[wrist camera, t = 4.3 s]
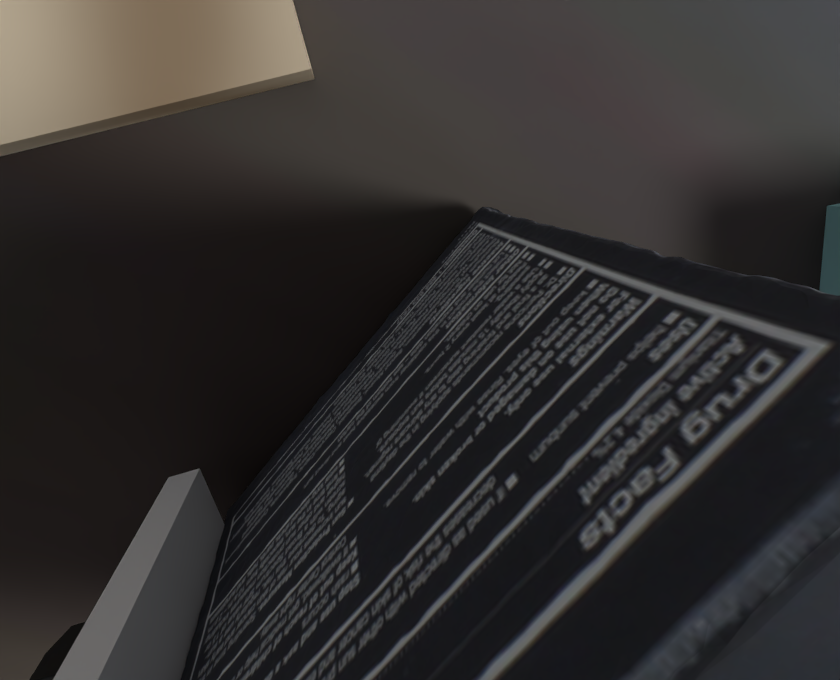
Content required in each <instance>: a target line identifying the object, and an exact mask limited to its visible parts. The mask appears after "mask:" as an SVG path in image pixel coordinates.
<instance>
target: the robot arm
mask: <svg viewBox="0 0 840 680" xmlns="http://www.w3.org/2000/svg"><path fill="white" fill-rule="evenodd" d="M224 525H225V524H224V522H223V520H222V517H221V515H220V513H219V511H218V508H217V506H216V504H215V502H214V499H213V497H212V495H211V493H210V490H209V488H208V486H207V484H206V481H205V479H204V477H203V475H202V472H201V470H200V468H199V469H196V470H192V471H189V472H185V473H182V474H178V475H175V476H171V477H168V479H167V481H166V483H165V484H164V486H163V488H162V490H161V491H160V493H159V495H158V497H157V498H156V500H155V502H154V504H153V505H152V507H151V509H150V511H149V512H148V514H147V516H146V518H145V519H144V521H143V523H142V525H141V526H140V528H139V530H138V532H137V533H136V535H135V537H134V539H133V540H132V542H131V544H130V546H129V547H128V549H127V551H126V553H125V554H124V556H123V558H122V560H121V561H120V563H119V565H118V567H117V568H116V570H115V572H114V574H113V575H112V577H111V579H110V581H109V582H108V584H107V586H106V588H105V589H104V591H103V593H102V595H101V596H100V598H99V600H98V602H97V603H96V605H95V607H94V609H93V610H92V612H91V614H90V616H89V617H88V619H87V621H86V622H84V623H80V624H77V625H74V626H71V627H70V628H69V629H68V630H67V632H66V633H65V634H64V635H63V636H62V637H61V638H60V639H59V640H58V641H57V642H56V643H55V644H54V645H53V646H52V647H51V648H50V649H49V651H48V652H47V653H46V654H45V655H44V657H43V659H42V660H41V662H40V663H39V665H38V667H37V668H36V670H35V672H34V673H33V675H32V676H31V678H30V680H181V676H182V673H183V671H184V668H185V663H186V659H187V655H188V652H189V650H190V646H191V641H192V639H193V636H194V633H195V630H196V627H197V623H198V618H199V613H200V611H201V608H202V605H203V603H204V599H205V595H206V592H207V588H208V584H209V580H210V575H211V572H212V569H213V566H214V563H215V559H216V552H217V550H218V546H219V542H220V539H221V535H222V532H223V529H224Z"/></svg>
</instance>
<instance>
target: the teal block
mask: <svg viewBox="0 0 840 680" xmlns="http://www.w3.org/2000/svg"><path fill="white" fill-rule="evenodd" d="M819 291H821V292H824V293H827V294H832V295H836V296H840V204H834V205H829V206H827V211H826V222H825V233H824V244H823V255H822V266H821V277H820V288H819Z"/></svg>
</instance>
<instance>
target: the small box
mask: <svg viewBox="0 0 840 680" xmlns="http://www.w3.org/2000/svg"><path fill="white" fill-rule="evenodd" d="M224 524H225V525H224V529H223V532H222V535H221V539H220V542H219V546H218V550H217V552H216V559H215V563H214V566H213V569H212V572H211V575H210V580H209V584H208V588H207V592H206V595H205V599H204V603H203V605H202V608H201V611H200V613H199V618H198V623H197V627H196V630H195V633H194V636H193V639H192V641H191V646H190V650H189V652H188V655H187V659H186V663H185V668H184V671H183V673H182V676H181V680H840V296H836V295H832V294H827V293H824V292H821V291H819V290H816V289H813V288H811V287H808V286H803V285H798V284H793V283H789V282H786V281H783V280H780V279H776V278H771V277H765V276H759V275H753V276H747V275H744V274H740V273H736V272H732V271H728V270H724V269H720V268H717V267H713V266H709V265H705V264H701V263H697V262H693V261H690V260H687V259H684V258H682V257H664V256H662V255H660V254H658V253H657V252H655V251H652V250H648V249H643V248H639V247H636V246H633V245H631V244H627V243H623V242H618V241H614V240H608V239H604V238H600V237H595V236H590V235H587V234H583V233H579V232H576V231H573V230H566V229H562V228H559V227H555V226H551V225H547V224H539V223H537V222H534V221H532V220H528V219H525V218H517V217H512V216H510V215H508V214H503V213H502V212H500V211H499V210H497V209H493V208H491V207H482V208H480V209H479V210H478V211H477V212H476V213H475V215H474V216H473V217H472V219H471V220H470V222H469V223H468V224H467V225H466V226H465V227H464V229H463V230H462V231H461V232H460V233H459V234H458V235H457V236H456V238H455V239H454V240H453V241H452V242H451V244H450V245H449V246H448V247H447V248H446V249H445V250H444V252H443V253H442V254H441V255H440V257H439V258H438V259H437V260H436V261H435V262H434V264H433V265H432V266H431V267H430V268H429V270H428V271H427V272H426V273H425V274H424V276H423V277H422V278H421V279H420V280H419V282H418V283H417V284H416V285H415V286H414V288H413V289H412V290H411V291H410V293H409V294H408V295H407V296H406V297H405V298H404V300H403V301H402V302H401V303H400V304H399V305H398V307H397V308H396V309H395V310H394V311H393V312H391V313H390V314H389V316H388V318H387V319H386V321H385V322H384V324H383V325H382V326H381V327H380V328H379V329H378V330H377V332H376V333H375V334H374V335H373V337H372V338H371V339H370V340H369V341H368V342H367V343H366V345H365V346H364V347H363V348H362V350H361V351H360V352H359V353H358V355H357V356H356V357H355V358H354V359H353V361H352V362H351V363H350V364H349V365H348V367H347V368H346V369H345V370H344V371H343V372H342V373H341V374H340V375H339V377H338V378H337V380H336V381H335V382H334V383H333V385H332V386H331V387H330V388H329V389H328V390H327V392H326V393H325V394H323V395H322V396H321V397H320V398H319V400H318V401H317V403H316V404H315V405H314V406H313V408H312V409H311V411H310V412H309V413H308V414H307V415H306V416H305V418H304V419H303V420H302V421H301V423H300V424H299V425H298V426H297V428H296V429H295V430H294V431H293V432H292V433H291V435H290V436H289V437H288V438H287V439H286V440H285V441H284V442H283V444H282V446H281V447H280V448H279V449H278V450H277V452H276V453H275V454H274V455H273V456H272V457H271V459H270V460H269V461H268V463H267V464H266V465H265V466H264V467H263V469H262V470H261V471H260V472H259V474H258V475H257V476H256V477H255V479H254V480H253V481H252V483H251V484H250V485H249V486H248V487H247V488H246V490H245V491H244V492H243V493H242V495H241V496H240V497H239V498H238V500H237V501H236V502H235V503H234V504H233V505H232V506H231V507H230V508H229V509H228V511H227V516H226V520H225V523H224Z"/></svg>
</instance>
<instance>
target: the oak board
mask: <svg viewBox="0 0 840 680" xmlns="http://www.w3.org/2000/svg"><path fill="white" fill-rule="evenodd" d="M313 79H315V78H314V75H313V71H312V67H311V64H310V60H309V57H308V53H307V50H306V46H305V42H304V39H303V35H302V32H301V28H300V24H299V21H298V17H297V14H296V10H295V6H294V3H293V0H0V157H1V156H5V155H9V154H13V153H17V152H21V151H25V150H29V149H33V148H37V147H41V146H45V145H49V144H53V143H57V142H62V141H66V140H70V139H74V138H78V137H82V136H86V135H90V134H94V133H98V132H102V131H106V130H110V129H114V128H118V127H122V126H127V125H131V124H135V123H139V122H143V121H147V120H151V119H155V118H159V117H163V116H167V115H171V114H175V113H179V112H183V111H187V110H192V109H196V108H200V107H204V106H208V105H212V104H216V103H220V102H224V101H228V100H232V99H236V98H240V97H244V96H248V95H252V94H257V93H261V92H265V91H269V90H273V89H277V88H281V87H285V86H289V85H293V84H297V83H301V82H305V81H309V80H313Z"/></svg>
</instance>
